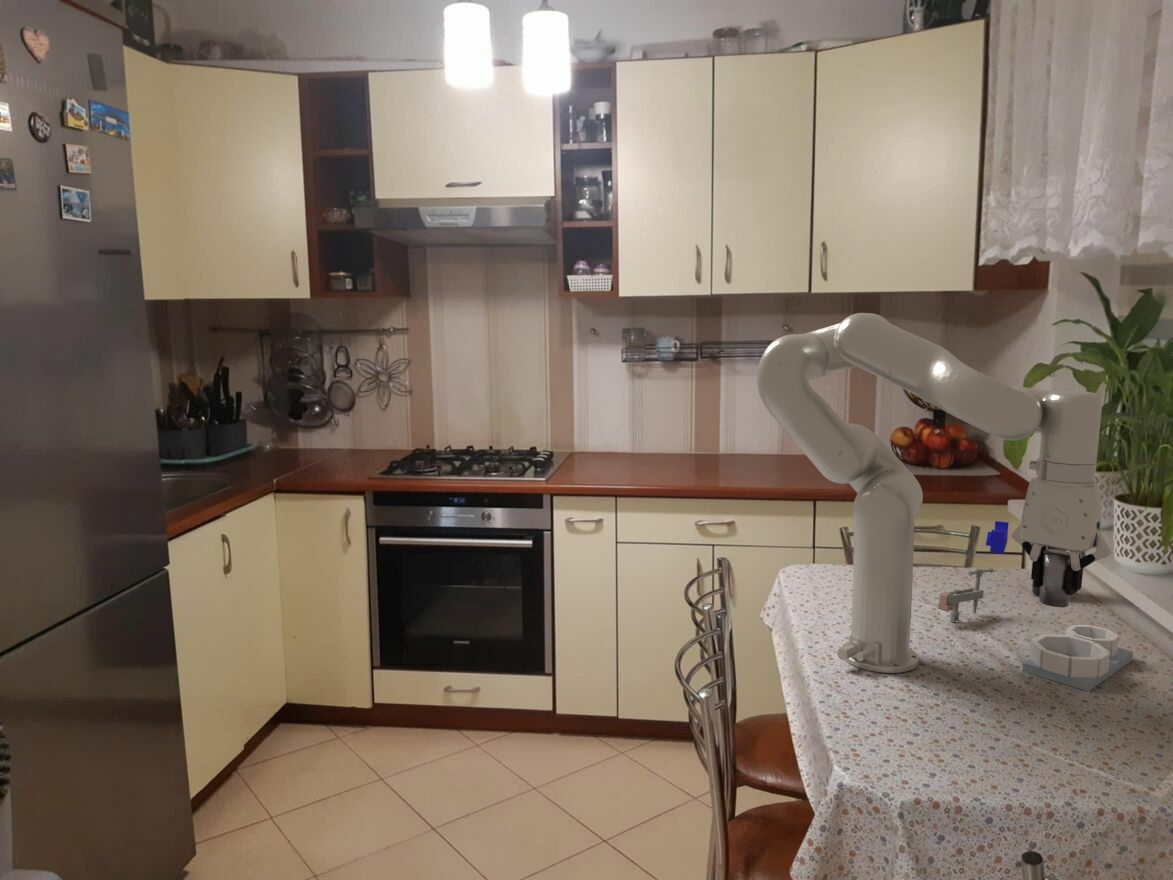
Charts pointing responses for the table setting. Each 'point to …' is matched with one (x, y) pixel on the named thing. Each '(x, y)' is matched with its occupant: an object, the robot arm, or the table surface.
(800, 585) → the table surface
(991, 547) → the blue block
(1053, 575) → the grey cylinder
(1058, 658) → the fitting plate
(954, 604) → the clamp
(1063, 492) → the robot arm
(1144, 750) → the table surface
